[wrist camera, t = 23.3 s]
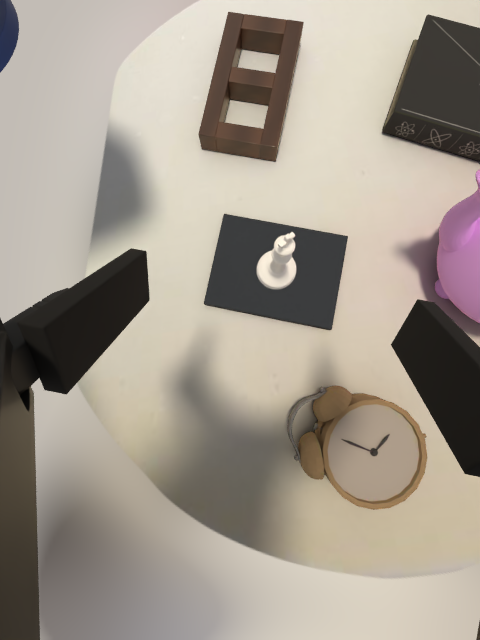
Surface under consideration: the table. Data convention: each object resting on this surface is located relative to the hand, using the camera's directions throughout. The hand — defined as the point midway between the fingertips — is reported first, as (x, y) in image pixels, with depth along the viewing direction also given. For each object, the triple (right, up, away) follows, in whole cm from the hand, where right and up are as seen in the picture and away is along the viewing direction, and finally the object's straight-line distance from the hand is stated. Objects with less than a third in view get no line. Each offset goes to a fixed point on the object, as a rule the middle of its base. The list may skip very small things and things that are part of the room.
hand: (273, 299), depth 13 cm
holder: (0, +30, +23) cm, 38 cm away
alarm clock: (+11, -15, +18) cm, 26 cm away
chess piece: (+3, +5, +20) cm, 21 cm away
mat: (+3, +5, +21) cm, 21 cm away
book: (+30, +27, +22) cm, 46 cm away
